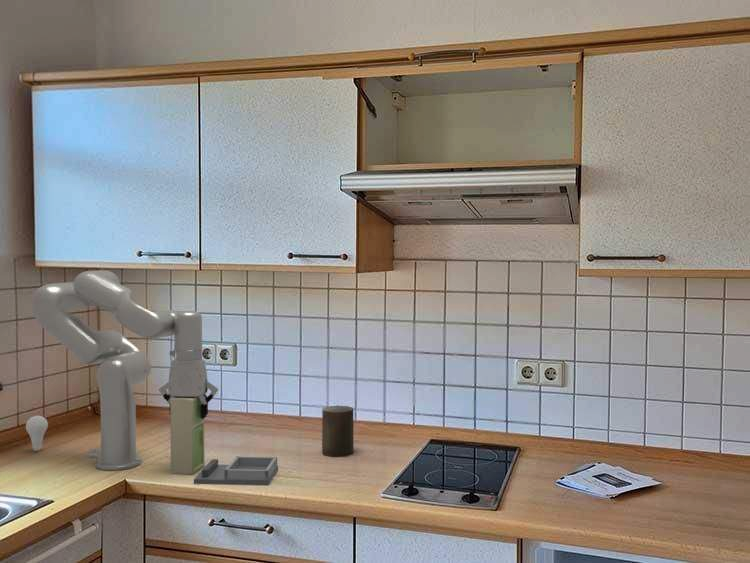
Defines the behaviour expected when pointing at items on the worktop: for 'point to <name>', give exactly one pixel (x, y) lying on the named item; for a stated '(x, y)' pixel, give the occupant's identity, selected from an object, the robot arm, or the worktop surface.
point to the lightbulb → (36, 430)
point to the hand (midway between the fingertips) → (188, 417)
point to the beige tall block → (186, 435)
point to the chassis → (239, 471)
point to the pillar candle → (337, 431)
